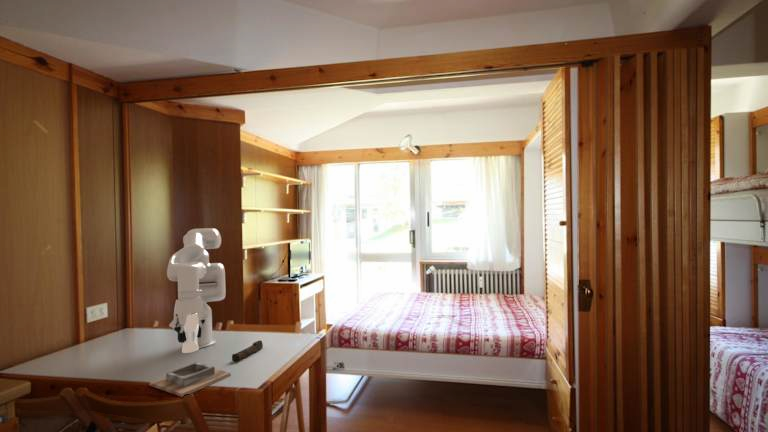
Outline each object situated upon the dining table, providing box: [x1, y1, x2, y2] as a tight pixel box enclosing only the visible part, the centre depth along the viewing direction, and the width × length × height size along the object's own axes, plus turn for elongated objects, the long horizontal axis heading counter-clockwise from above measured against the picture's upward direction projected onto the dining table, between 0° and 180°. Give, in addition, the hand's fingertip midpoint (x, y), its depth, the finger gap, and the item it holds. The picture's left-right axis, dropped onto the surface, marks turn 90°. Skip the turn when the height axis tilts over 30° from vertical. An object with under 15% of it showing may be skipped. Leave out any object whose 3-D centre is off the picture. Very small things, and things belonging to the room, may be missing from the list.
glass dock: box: [149, 361, 231, 398], centre depth 143 cm, size 22×20×4 cm
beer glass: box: [180, 313, 200, 354], centre depth 143 cm, size 7×7×15 cm
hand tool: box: [231, 339, 264, 363], centre depth 170 cm, size 19×4×5 cm, turn 158°
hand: (189, 339), depth 143 cm, fingers closed on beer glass, 6 cm apart
